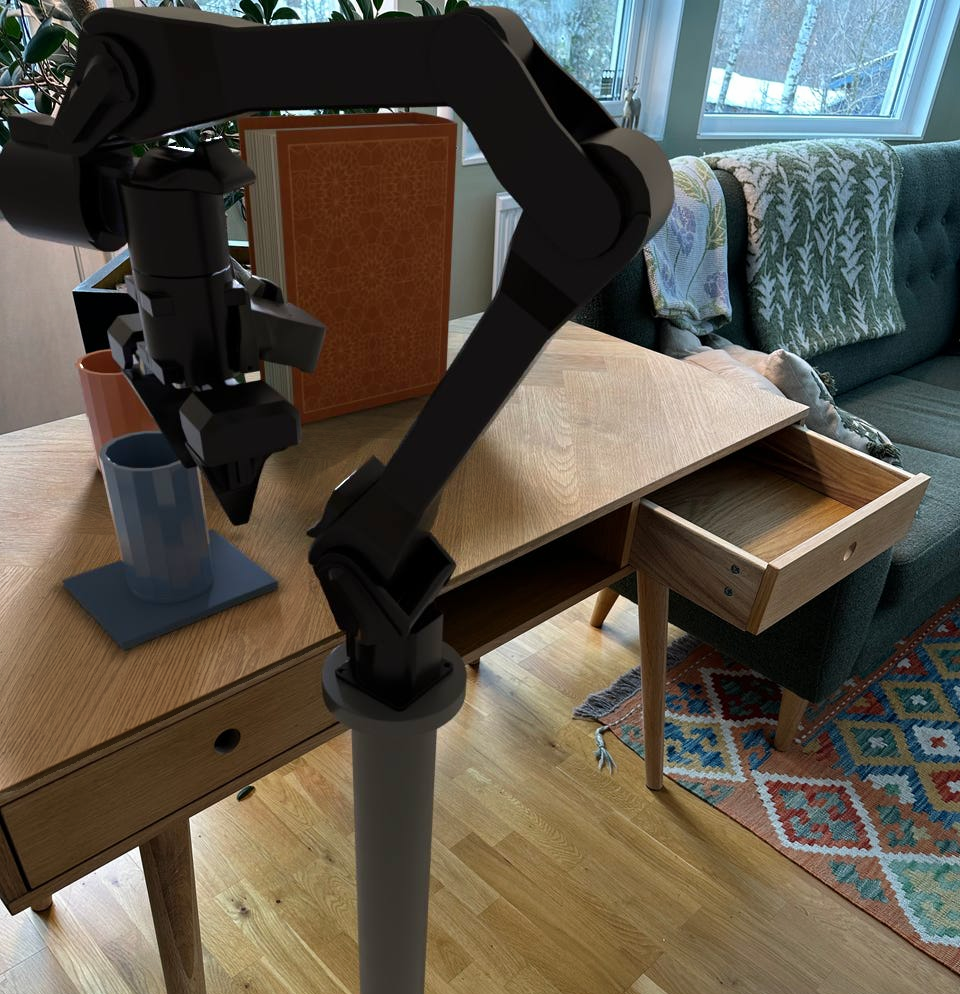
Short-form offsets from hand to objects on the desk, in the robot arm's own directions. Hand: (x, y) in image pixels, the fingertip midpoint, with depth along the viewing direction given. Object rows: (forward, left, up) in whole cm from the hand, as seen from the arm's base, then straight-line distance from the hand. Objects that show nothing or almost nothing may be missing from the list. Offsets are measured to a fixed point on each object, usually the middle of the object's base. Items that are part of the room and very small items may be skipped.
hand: (215, 494), depth 62 cm
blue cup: (+9, -1, -12) cm, 15 cm away
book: (+26, -44, -13) cm, 53 cm away
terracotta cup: (+30, -13, -13) cm, 35 cm away
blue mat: (+9, -1, -13) cm, 16 cm away
